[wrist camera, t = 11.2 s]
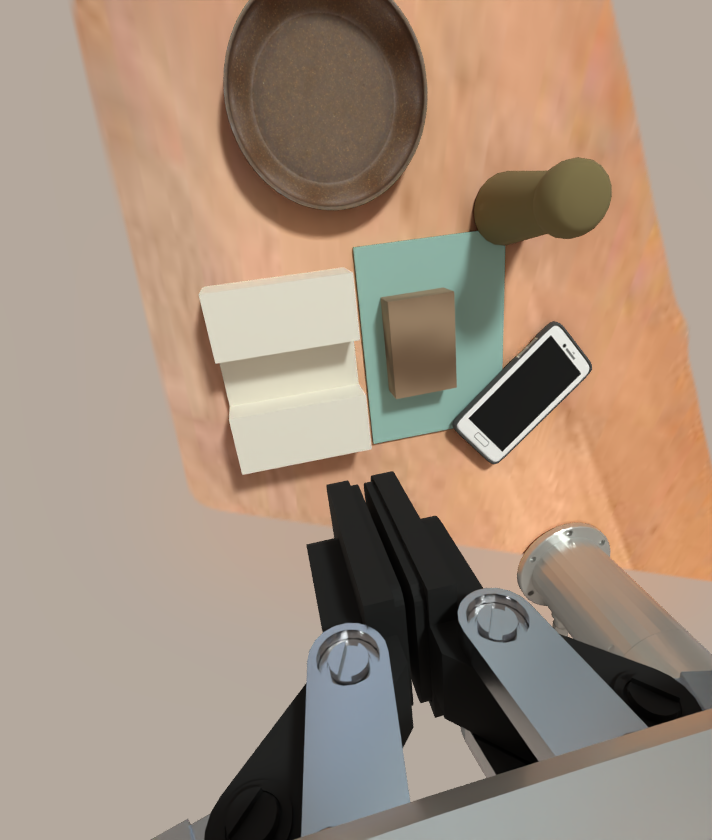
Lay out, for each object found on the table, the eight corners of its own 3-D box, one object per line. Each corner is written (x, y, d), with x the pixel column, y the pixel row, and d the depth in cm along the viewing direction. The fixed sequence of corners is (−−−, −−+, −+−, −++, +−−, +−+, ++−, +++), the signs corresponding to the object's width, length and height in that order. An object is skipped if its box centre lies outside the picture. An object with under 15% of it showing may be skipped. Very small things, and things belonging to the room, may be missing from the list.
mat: (499, 417, 51) (501, 418, 51) (373, 442, 49) (373, 443, 49) (504, 227, 43) (505, 227, 43) (352, 247, 41) (353, 247, 41)
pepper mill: (474, 172, 41) (551, 147, 31) (539, 169, 42) (633, 144, 32) (472, 247, 43) (543, 247, 33) (534, 243, 44) (621, 242, 34)
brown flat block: (396, 399, 44) (388, 390, 47) (456, 387, 45) (446, 379, 48) (387, 302, 41) (380, 297, 43) (454, 291, 42) (443, 287, 44)
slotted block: (362, 431, 48) (371, 449, 45) (242, 454, 46) (242, 474, 43) (343, 267, 42) (352, 272, 38) (202, 286, 40) (198, 294, 36)
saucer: (350, 246, 41) (357, 248, 39) (188, 130, 36) (184, 125, 33) (451, 80, 38) (466, 71, 35) (291, -76, 32) (294, -100, 30)
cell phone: (447, 423, 49) (451, 427, 48) (552, 316, 47) (558, 318, 46) (490, 463, 53) (494, 467, 52) (589, 365, 51) (596, 368, 50)
